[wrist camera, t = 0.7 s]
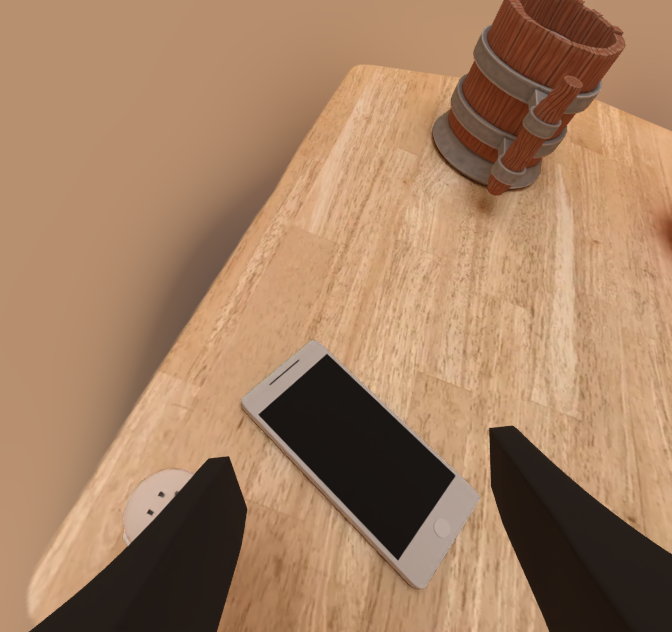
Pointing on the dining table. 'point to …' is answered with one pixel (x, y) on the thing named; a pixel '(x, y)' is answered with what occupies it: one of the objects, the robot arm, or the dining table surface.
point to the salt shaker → (151, 499)
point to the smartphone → (364, 460)
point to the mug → (525, 89)
